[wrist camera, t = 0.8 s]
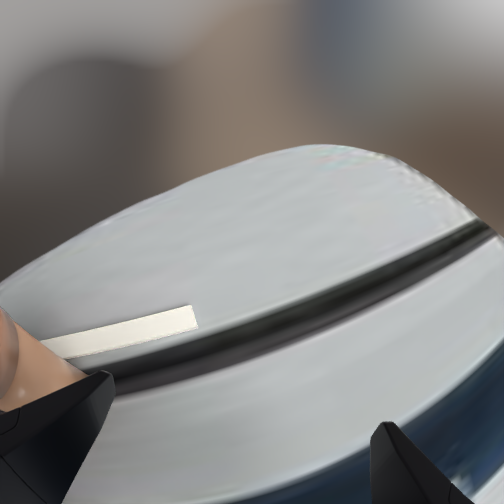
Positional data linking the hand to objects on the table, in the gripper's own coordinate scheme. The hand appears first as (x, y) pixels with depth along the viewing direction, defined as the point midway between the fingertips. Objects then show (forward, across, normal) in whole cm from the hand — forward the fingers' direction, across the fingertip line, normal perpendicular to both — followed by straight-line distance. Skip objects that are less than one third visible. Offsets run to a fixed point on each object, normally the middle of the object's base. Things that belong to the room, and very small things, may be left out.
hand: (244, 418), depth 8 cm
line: (+8, +15, +9) cm, 20 cm away
